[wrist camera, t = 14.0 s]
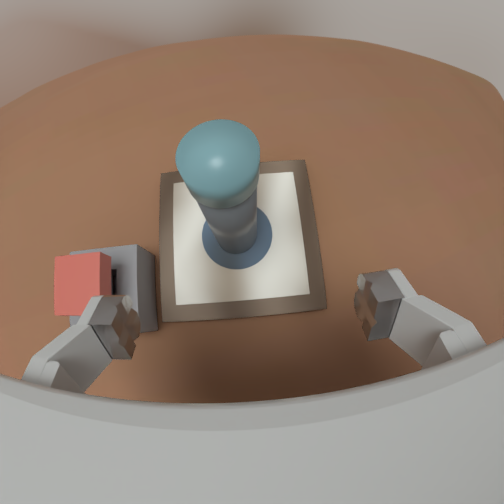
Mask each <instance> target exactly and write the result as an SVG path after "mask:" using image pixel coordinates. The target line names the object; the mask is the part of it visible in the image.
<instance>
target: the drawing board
mask: <svg viewBox="0 0 504 504" xmlns="http://www.w3.org/2000/svg"><path fill="white" fill-rule="evenodd" d="M159 253H160V287H161V306H162V322H177V321H198V320H215V319H229V318H242V317H254V316H265V315H275V314H285V313H294V312H303V311H311V310H319V309H327V304H326V294H325V286H324V277H323V269H322V262H321V254H320V247H319V240H318V233H317V227H316V220H315V214H314V208H313V202H312V196H311V191H310V185H309V179H308V174H307V169H306V164H305V160H289V161H272V162H260V168H259V181H258V184H257V236H256V241H255V243H254V245H253V246H252V247H251V248H250V249H249V250H248V251H246V252H244V253H241V254H231V253H228V252H226V251H224V250H223V249H222V248H221V247H220V246H219V244H218V242H217V240H216V238H215V236H214V234H213V232H212V230H211V229H210V227H209V225H208V223H207V221H206V219H205V217H204V215H203V213H202V211H201V209H200V207H199V205H198V203H197V201H196V200H195V199H194V198H193V196H192V195H191V194H190V192H189V190H188V188H187V186H186V184H185V182H184V180H183V178H182V177H181V175H180V173H179V171H176V172H169V173H162V174H161V183H160V217H159Z"/></svg>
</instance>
